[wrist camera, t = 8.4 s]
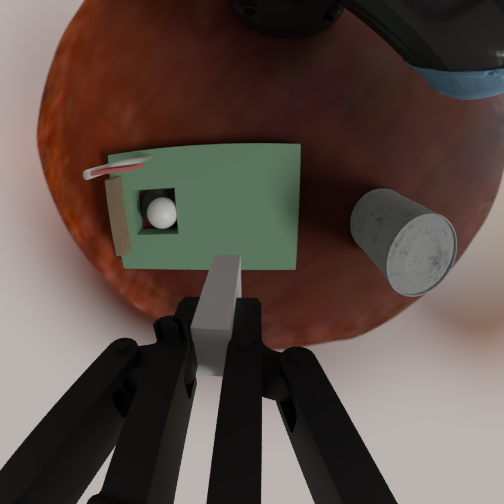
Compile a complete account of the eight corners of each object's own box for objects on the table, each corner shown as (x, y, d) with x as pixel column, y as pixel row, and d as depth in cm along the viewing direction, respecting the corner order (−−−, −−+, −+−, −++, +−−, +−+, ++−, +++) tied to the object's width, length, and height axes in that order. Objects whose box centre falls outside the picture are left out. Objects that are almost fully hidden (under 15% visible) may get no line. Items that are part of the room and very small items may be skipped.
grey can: (368, 264, 39) (403, 311, 27) (337, 214, 36) (371, 249, 24) (417, 228, 36) (464, 263, 25) (390, 175, 33) (442, 195, 22)
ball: (145, 202, 31) (178, 197, 32) (145, 197, 34) (174, 193, 35) (149, 234, 32) (181, 229, 33) (148, 226, 36) (177, 222, 37)
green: (116, 153, 33) (35, 173, 17) (297, 143, 32) (332, 149, 17) (130, 260, 39) (75, 327, 24) (293, 261, 39) (313, 340, 23)
